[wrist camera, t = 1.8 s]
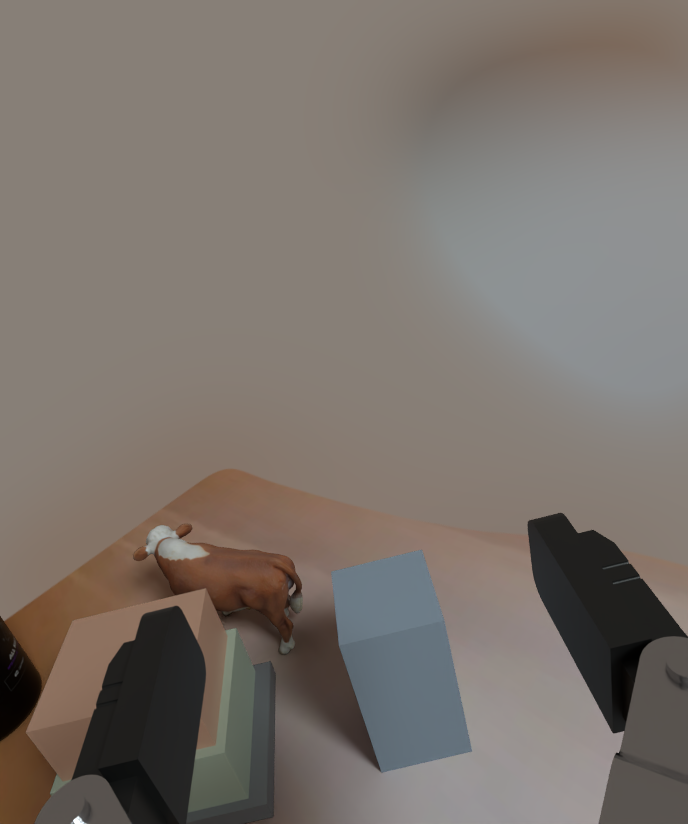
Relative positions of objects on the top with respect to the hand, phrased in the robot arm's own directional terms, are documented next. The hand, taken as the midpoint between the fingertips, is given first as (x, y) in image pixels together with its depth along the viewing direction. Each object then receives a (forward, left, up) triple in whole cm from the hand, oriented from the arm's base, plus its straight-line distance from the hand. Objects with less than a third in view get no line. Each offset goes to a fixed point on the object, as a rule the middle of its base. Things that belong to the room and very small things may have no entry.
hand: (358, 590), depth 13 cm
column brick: (0, +12, -22) cm, 25 cm away
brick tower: (-14, +13, -22) cm, 29 cm away
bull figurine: (-11, +23, -22) cm, 34 cm away
